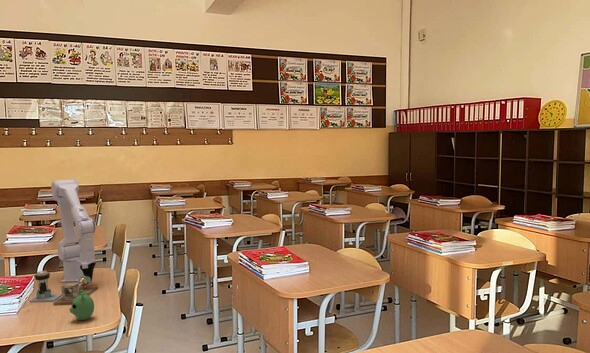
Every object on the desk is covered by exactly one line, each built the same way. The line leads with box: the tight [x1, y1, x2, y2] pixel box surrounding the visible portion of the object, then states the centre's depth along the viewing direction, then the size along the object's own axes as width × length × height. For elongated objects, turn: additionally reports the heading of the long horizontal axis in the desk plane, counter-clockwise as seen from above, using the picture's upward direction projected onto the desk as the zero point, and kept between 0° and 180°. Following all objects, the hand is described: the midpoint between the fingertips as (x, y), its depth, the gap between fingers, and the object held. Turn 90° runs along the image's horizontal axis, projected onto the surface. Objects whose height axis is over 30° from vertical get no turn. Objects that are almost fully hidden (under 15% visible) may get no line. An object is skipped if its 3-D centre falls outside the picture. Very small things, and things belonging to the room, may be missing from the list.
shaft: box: [67, 275, 92, 294], centre depth 191 cm, size 15×4×4 cm, turn 1°
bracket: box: [52, 283, 99, 306], centre depth 189 cm, size 19×9×6 cm, turn 1°
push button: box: [34, 270, 56, 299], centre depth 187 cm, size 7×5×10 cm
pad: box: [29, 293, 62, 303], centre depth 188 cm, size 7×9×1 cm
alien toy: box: [69, 290, 95, 321], centre depth 164 cm, size 7×8×10 cm
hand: (88, 281), depth 201 cm, fingers closed
